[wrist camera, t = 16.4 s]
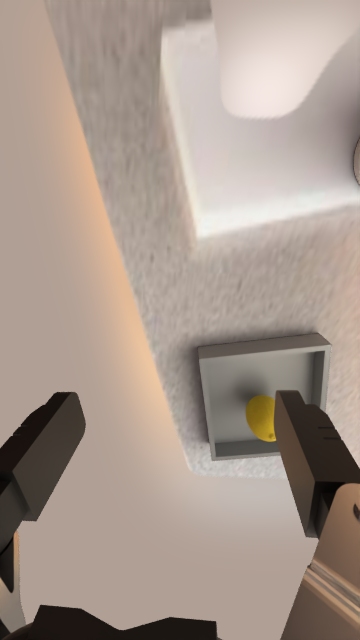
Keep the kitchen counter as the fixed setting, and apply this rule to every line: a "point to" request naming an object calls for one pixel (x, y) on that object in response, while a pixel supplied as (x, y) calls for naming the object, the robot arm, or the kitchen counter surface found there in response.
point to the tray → (258, 386)
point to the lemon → (261, 417)
